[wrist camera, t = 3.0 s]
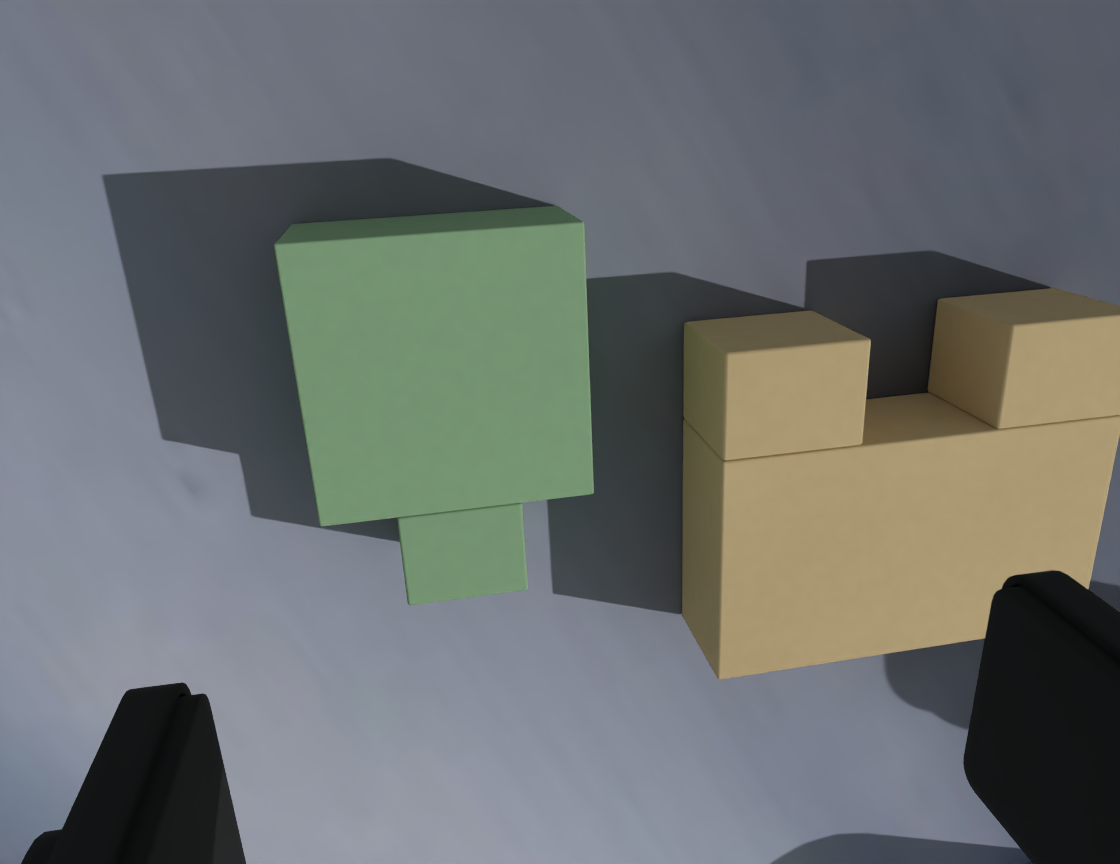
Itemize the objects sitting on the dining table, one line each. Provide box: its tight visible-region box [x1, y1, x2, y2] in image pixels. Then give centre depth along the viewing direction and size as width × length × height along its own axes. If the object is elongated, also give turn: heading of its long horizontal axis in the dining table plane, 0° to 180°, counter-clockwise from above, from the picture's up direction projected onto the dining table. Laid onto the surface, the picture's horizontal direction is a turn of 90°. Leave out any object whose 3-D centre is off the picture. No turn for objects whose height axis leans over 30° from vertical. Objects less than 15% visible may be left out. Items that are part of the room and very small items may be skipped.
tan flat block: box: [682, 288, 1120, 679], centre depth 26 cm, size 12×10×4 cm
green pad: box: [274, 206, 594, 605], centre depth 23 cm, size 7×10×4 cm
